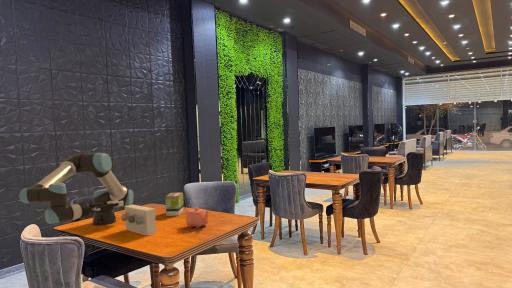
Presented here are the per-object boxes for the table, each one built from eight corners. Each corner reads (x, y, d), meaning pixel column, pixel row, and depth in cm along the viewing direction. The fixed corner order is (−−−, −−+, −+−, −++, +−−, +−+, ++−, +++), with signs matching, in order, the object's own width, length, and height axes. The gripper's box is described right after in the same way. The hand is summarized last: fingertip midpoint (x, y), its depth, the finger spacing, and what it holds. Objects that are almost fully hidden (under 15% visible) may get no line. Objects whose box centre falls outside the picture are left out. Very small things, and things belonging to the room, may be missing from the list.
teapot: (180, 227, 230) (179, 208, 229) (192, 222, 240) (191, 204, 239) (204, 230, 219) (203, 211, 219) (216, 225, 229) (215, 207, 229)
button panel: (125, 229, 229) (124, 206, 228) (134, 227, 234) (133, 204, 233) (147, 235, 214) (146, 210, 213) (156, 233, 218) (154, 208, 218)
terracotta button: (121, 220, 225) (121, 213, 225) (124, 220, 226) (123, 213, 226) (125, 221, 222) (125, 214, 222) (127, 221, 223) (127, 214, 223)
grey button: (128, 222, 220) (128, 215, 219) (131, 221, 221) (130, 214, 221) (132, 223, 217) (132, 216, 217) (135, 222, 218) (134, 215, 218)
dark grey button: (135, 224, 215) (135, 217, 214) (138, 223, 216) (138, 216, 216) (140, 225, 212) (139, 217, 212) (142, 224, 213) (142, 217, 213)
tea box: (179, 215, 261) (178, 195, 260) (165, 216, 261) (164, 196, 261) (184, 211, 276) (183, 191, 275) (171, 211, 276) (170, 192, 276)
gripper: (72, 215, 193) (113, 207, 210) (87, 220, 181) (129, 210, 199) (71, 202, 192) (112, 194, 210) (86, 205, 181) (128, 197, 199)
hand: (120, 202), depth 205 cm, fingers open, 4 cm apart
